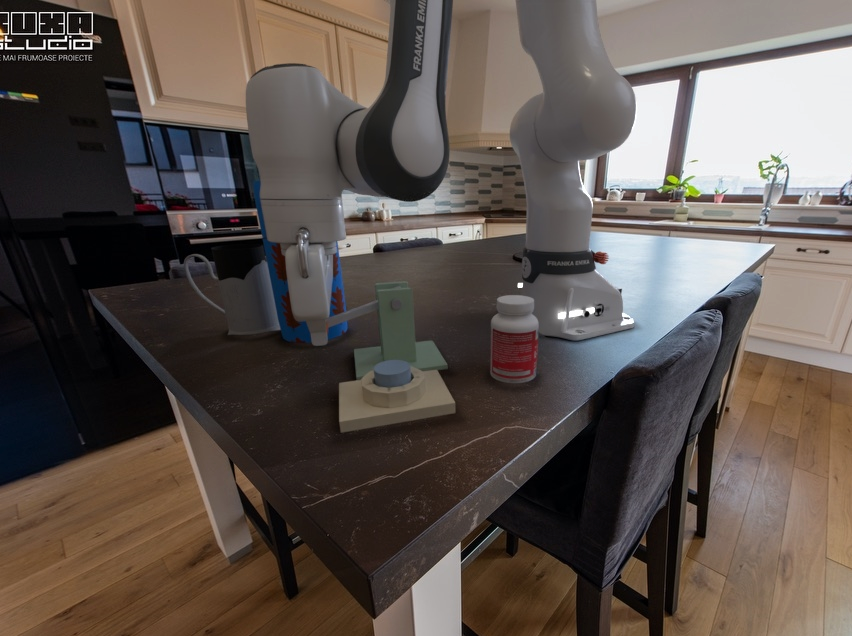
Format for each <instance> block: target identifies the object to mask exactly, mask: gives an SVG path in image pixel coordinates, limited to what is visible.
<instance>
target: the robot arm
mask: <svg viewBox="0 0 852 636" xmlns="http://www.w3.org/2000/svg"><path fill="white" fill-rule="evenodd" d="M384 2H386V3H387V4H389V7H390V8H389V9H390V10H389V11H390V13H389V24H388V36H387V37H388V40H387V50H386V51H387V53H386V65H385V77H384V81H383V86H382V88H381V90H380V92H379V94H378V95H377V97H376V99H375V100H374V101H373V103H371V105H370V106H369V107H366V106H364V105H362V104H360V103H358V102H356V101H355V100H353V99H351V98H350V97H348V96H347V95H346V94H344V92H341V90H339V89H338V88H337V87H336V86H334V85H333V84H332V83H331V82H330V81H329V80H328V79H327V78H326V77H325V76H324V75H323V73H322V72H321V70H320V69H318V68H317V67H315V66H313V65H309V64H306V63H296V62H294V63H293V62H292V63H291V62H289V63H277V64H273V65H270V66H269V65H268V66H264V67H262V68H260V69H259V70H257V71H255V73H253V74H252V75H251V77H250V78H249V79H248V81H247V83H246V87H245V112H246V121H247V131H248V137H249V144H250V149H251V155H252V158H253V161H254V163H255V165H256V167H257V170H258V174H259V178H260V179H259V180H260V181H261V187H260V201H261V207H262V212H263V218H264V223H265V229H266V235H267V240H268V241H269V242H273V243H280V246H281V248H282V249H281V253H282V255H283V256H285V261H286V273H287V281H288V288H289V295H290V302H291V309H292V313H293V316H294V318H295V320H296V321H299V322H303V321H306V323H307V326H308V328H309V331H310V335H311V341H312V342H311V344H312V346H314V347H319V346H326V345H327V344H328V341H329V340H328V336H327V329H326V319H327V318H328V317H329V314H330V302H331V290H332V281H333V254H335V253H337V247H336V241H337V242H340V241H344V240H347V233H346V224H345V214H344V213H345V211H344V203H343V195H342V194H343V192H344V190H345V191H349V192H351V193H354V194H357V195H361V196H370V197H377V198H387V199H392V200H396V201H399V202H405V203H413V202H418V201H419V202H420V201H421V200H424V199H427V198H428V197H429V196H431V195H432V194H433V193H435V191H437V189H438V188H439V187H440V186H441V185H442V182H443V181H444V179H445V176H446V175H447V172H448V167H449V163H450V152H451V151H450V149H451V148H450V137H449V129H448V122H447V111H446V109H447V108H446V94H447V83H448V81H447V80H448V71H449V70H448V69H449V57H450V45H451V33H452V21H453V5H454V0H384ZM515 7H516V15H517V17H516V18H517V26H518V35H519V42H520V45H521V47H522V50H523V51H524V52H525V53H526V54H527V55H528V56H529V57H531V60H532V61H533V63H534V65H535V68H536V70H537V73H538V76H539V79H540V83H541V85H542V92H541V93H538V94H536V95H534V96H532V97H531V98H529V99H528V100H527V101H526V102H525V103H524V104H523V105H522V106H521V107H520V108H519V109H518V110H517V111H516V112H515V113H514V115H513V118H512V119H511V122H510V126H509V141H510V144H511V148H512V149H513V151H514V153H515V154H516V156H517V157H518V160H519V164H520V170H521V174H522V179H523V184H524V185H523V186H524V191H525V199H526V200H525V202H526V220H525V221H526V222H525V247H523V249H522V257H521V259H522V260H521V279H522V282H518V283H517V288H521V291H520V295H521V296H527V297H531V298H533V299H534V310H533V312H532V315H534V316H535V317H536V318H537V320H538V322H539V331H538V333H539V334H541V335H542V336H546V337H554V338H555V337H556V338H561V339H564V340H565V339H566V340H569V341H583V340H587V339H591V338H595V337H599V336H604V335H608V334H613V333H617V332H620V331H625V330H630V329H634V328H635V321H634V319H633V318H632V317H630V316H629V315H627V314H626V313H624V302H623V300H624V299H623V296H622V292H623V288H621V287H617V286H614V285H613V284H612V283H611V282H610V281H609V280H607V278H605V277H604V276H603V275H602V274H601V273H600V272H599V271H597V267H596V264H600V265H606V264H607V262H609V259H610V257H609V254H608V253H607V252H602V251H596V252H595V251H593V250H592V249H590V241H591V231H592V219H593V211H594V210H593V209H594V204H593V200H592V197H591V196H590V194H589V193H588V192H587V191H586V189H585V187H584V184H583V180H582V177H581V170H580V161H588V160H594V159H596V158H599V157H601V156H604V155H606V154H609V153H610V152H613V151H614V150H617V149H618V148H620V147H621V146H622V145H623V144H624V143H625V142H626V141H627V140H628V139H629V137H630V136H631V134H632V131H634V130H633V129H634V127H635V124H636V119H637V112H638V104H637V97H636V94H635V91H634V88H633V87H632V85H631V82H629V81H628V80H627V79H626V78H625V77H624V76H623V75H621V74H620V73H619V71H617V70H616V69H615V67H614V66H613V63H612V62H611V60H610V58H609V56H608V53H607V51H606V48H605V45H604V42H603V39H602V38H603V37H602V34H601V29H600V26H599V25H600V24H599V19H598V18H599V17H598V6H597V0H515Z"/></svg>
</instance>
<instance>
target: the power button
mask: <svg viewBox="0 0 852 636" xmlns="http://www.w3.org/2000/svg"><path fill="white" fill-rule="evenodd" d="M374 377H375V384H376V385H377V386H379V387H387V388H392V387H399V386H403V385H405V384H408V383H410V382H411V368H410V364H409V363H408V362H406V361H403V360H388V361H384V362H381V363H379V364H377V365H376V366H375V367H374Z"/></svg>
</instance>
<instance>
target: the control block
mask: <svg viewBox="0 0 852 636" xmlns="http://www.w3.org/2000/svg"><path fill="white" fill-rule="evenodd" d="M410 368H411V382H410V383H408V384H405V385H403V386H399V387H392V388H387V387H379V386H377V385H376V384H375V377H374V370H373V371H370V372H368V373H367V374H366V375H365V376H364V377H363V378H362V379H361V380H357V379H356V380H350V381H349V380H348V381H343V382H339V383H338V424H339V431H340V433H341V434H342V433H348V432H353V431H359V430H365V429H370V428H377V427H382V426H388V425H394V424H395V425H396V424H400V423H406V422H411V421H418V420H423V419H429V418H435V417H441V416H447V415H452V414H456V401H455V400H454V398H453V396H452V394H451V393H450V391H449V389H448V386H447V385H446V382H445V381H444V379H443V378H442V376H441V374H440V373H439V370H430V371H423V372H422V371H421V370H419V369H417V368H414V367H412V366H410Z"/></svg>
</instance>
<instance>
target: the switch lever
mask: <svg viewBox="0 0 852 636" xmlns="http://www.w3.org/2000/svg"><path fill="white" fill-rule="evenodd" d="M394 288H401V287H400V286H397V287H394ZM391 289H393V288H391ZM378 309H379V306H378V300H376V299H375V300H374V301H373V300H372V301H371V302H368V303H365V304H363V305H359V306H357V307H354V308H351V309H348V310H346V312H343V313H340V314H337V315H334V316H332V317H328V318H327V319H326V329H327V335H328V328H329V327H331V326H334V325H337V324H340V323H342V322H345V321H347V322H348V321H351V320H353V319H357V318H358V317H362V316H364V315H367V314H370V313H372V312H375V311H377V310H378Z"/></svg>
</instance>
